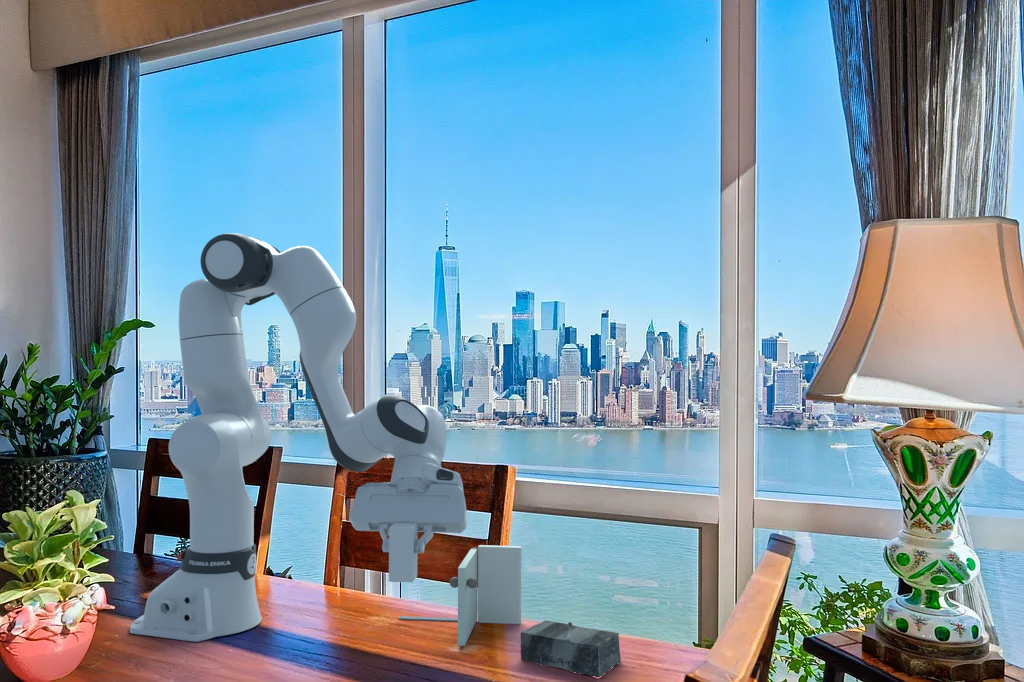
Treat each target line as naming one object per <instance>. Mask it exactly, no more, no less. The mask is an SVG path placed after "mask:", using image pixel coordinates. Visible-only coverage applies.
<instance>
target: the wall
mask: <svg viewBox="0 0 1024 682" xmlns="http://www.w3.org/2000/svg"><path fill="white" fill-rule="evenodd" d="M477 548H478V573H477V623H481V624H482V623H483V624H484V623H485V624H505V625H506V624H510V625H511V624H512V625H521V624H522V546H521V545H491V544H490V545H489V544H488V545H487V544H486V545H485V544H480V545H478V546H477ZM398 620H404V621H408V620H409V621H429V622H431V621H434V622H456V623H458V617H437V616H436V617H434V616H432V617H431V616H407V615H400V616H399V617H398Z"/></svg>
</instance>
